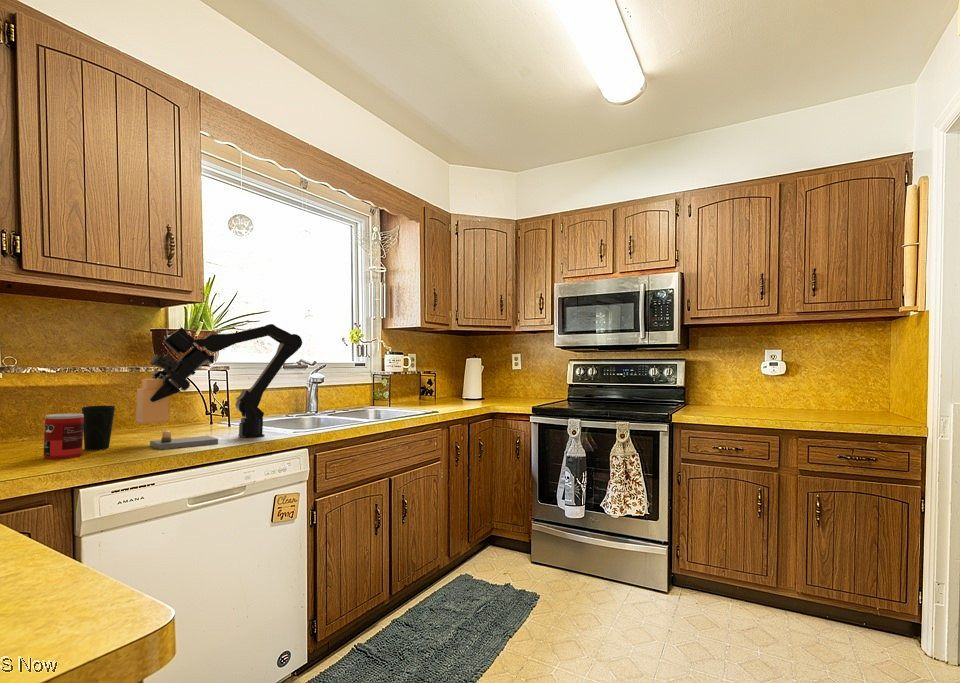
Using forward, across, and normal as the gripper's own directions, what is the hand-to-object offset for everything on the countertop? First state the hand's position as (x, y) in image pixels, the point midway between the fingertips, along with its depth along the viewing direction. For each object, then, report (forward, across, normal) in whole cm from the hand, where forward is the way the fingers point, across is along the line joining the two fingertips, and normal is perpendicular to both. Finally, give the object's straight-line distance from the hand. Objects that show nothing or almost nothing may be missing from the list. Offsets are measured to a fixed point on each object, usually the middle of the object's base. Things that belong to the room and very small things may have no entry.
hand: (147, 400), depth 153 cm
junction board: (+4, +8, +15) cm, 18 cm away
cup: (+18, -1, +1) cm, 18 cm away
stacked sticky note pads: (+4, 0, +6) cm, 7 cm away
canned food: (+24, +7, -5) cm, 26 cm away
